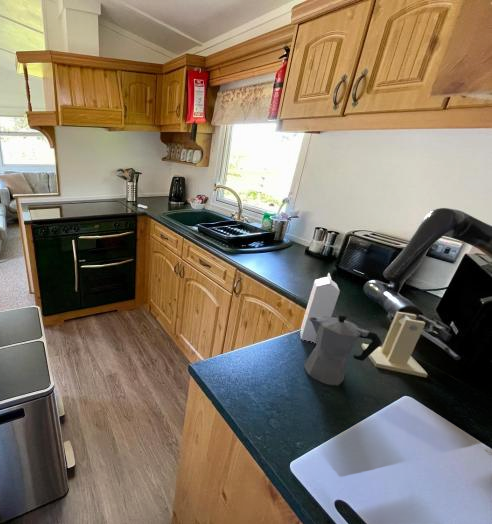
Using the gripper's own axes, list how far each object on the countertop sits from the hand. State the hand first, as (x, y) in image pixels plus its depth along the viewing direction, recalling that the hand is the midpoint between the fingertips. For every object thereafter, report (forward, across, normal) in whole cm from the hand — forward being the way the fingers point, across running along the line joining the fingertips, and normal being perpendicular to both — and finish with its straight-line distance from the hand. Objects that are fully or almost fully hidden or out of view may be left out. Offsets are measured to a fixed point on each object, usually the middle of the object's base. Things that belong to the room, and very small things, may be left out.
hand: (431, 335), depth 85 cm
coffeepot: (+21, -31, +8) cm, 38 cm away
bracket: (+7, -11, +7) cm, 15 cm away
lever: (+7, -6, -2) cm, 9 cm away
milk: (+3, -31, +8) cm, 32 cm away
